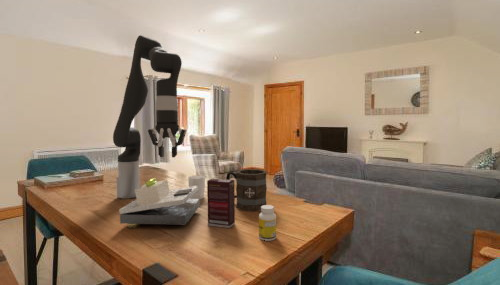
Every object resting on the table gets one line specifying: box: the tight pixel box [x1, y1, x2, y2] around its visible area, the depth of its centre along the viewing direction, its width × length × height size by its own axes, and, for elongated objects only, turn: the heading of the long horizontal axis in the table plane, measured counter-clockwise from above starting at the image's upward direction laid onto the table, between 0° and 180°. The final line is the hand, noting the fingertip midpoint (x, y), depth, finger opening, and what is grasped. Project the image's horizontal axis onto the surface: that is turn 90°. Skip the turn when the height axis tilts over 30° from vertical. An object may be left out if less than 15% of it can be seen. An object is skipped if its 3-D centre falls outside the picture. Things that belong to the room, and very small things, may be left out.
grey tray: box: [119, 198, 201, 229], centre depth 100 cm, size 22×20×5 cm
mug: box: [225, 168, 268, 212], centre depth 117 cm, size 20×14×15 cm
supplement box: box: [206, 177, 236, 229], centre depth 95 cm, size 9×5×16 cm, turn 71°
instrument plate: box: [118, 177, 198, 215], centre depth 100 cm, size 22×20×8 cm
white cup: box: [187, 174, 206, 200], centre depth 130 cm, size 8×8×10 cm
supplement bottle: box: [258, 204, 277, 242], centre depth 84 cm, size 5×5×10 cm
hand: (167, 156), depth 99 cm, fingers open, 3 cm apart
